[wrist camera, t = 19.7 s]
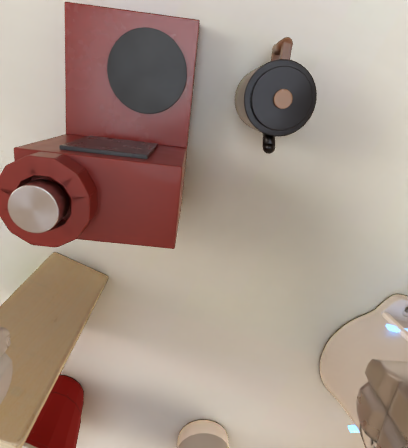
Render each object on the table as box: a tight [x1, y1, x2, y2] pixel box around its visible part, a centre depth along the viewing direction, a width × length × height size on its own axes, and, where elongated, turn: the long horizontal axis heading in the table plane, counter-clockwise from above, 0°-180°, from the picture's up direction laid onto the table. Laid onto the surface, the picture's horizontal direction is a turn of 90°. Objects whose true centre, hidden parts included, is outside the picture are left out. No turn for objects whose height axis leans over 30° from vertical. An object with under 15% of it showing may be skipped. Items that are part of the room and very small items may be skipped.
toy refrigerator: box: [0, 252, 108, 448], centre depth 30 cm, size 8×7×21 cm
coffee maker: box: [0, 134, 187, 249], centre depth 29 cm, size 12×6×14 cm, turn 83°
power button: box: [8, 179, 68, 233], centre depth 22 cm, size 3×3×2 cm
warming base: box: [59, 2, 199, 159], centre depth 28 cm, size 11×10×11 cm
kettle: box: [235, 37, 317, 154], centre depth 30 cm, size 6×9×8 cm, turn 174°
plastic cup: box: [22, 375, 83, 448], centre depth 39 cm, size 11×11×12 cm
